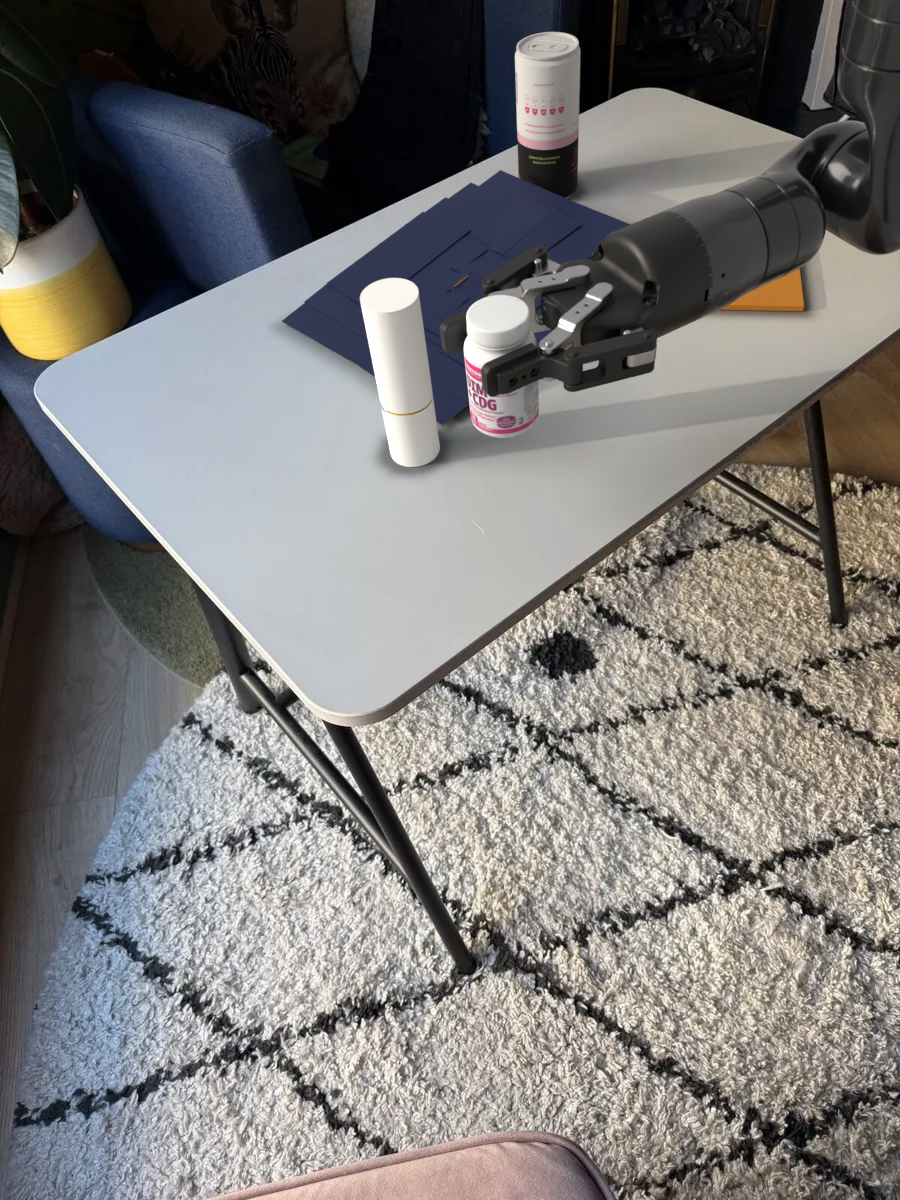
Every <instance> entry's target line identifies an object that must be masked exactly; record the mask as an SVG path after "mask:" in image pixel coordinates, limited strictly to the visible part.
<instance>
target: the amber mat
mask: <svg viewBox="0 0 900 1200" xmlns="http://www.w3.org/2000/svg"><path fill="white" fill-rule="evenodd" d="M801 275H802V274H801V268H799V269H797V270H796V271H794V272H792V273H790V274H788V275H786V276H784V277H782V278H779V279H777V280H775V281H773V282H770V283H768V284H766V285H764V286H762V287H759V288H757V289H755V290H753V291H751V292H749V293H747V294H745V295H744V296H742V297H740V298H739V299H737V300H736V301H735V302H733V303H731V304H730V305H728V306H726V307H724V308H722V309H720V310H719V311H761V312H762V311H763V312H764V311H765V312H766V311H768V312H803V311H804V310H805V302H804V291H803V284H802V276H801Z"/></svg>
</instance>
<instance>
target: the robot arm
mask: <svg viewBox="0 0 900 1200" xmlns="http://www.w3.org/2000/svg"><path fill="white" fill-rule="evenodd" d="M844 34H845V35H844V38H843V44H842V48H841V52H840V57H839V62H838V67H837V74H836V77H837V78H836V82H837V83H836V85H837V89H838V92H839V94H840V96H841V98H842V99H843V100H844V102H845V103H846V104H847V105H848V106H849V107H850V108H851V109H852V110H853V111H854V112H855V113H856V114H857V116H859V118H860V119H861V120H862V121H859V120H852V119H850V120H840V121H833V122H830V123H826V124H824V125H821V126H819V127H818V128H815V129H814V130H813V131H811V132H810V133H808V134H807V135H806V136H805V137H804V138H803V139H801V140H800V141H799V142H798V143H797V144H796V145H794V146H793V147H792V148H791V149H790V150H788V152H786V153H784V155H782V156H781V157H779V159H777V160H776V161H775V162H774V163H773V164H772V165H771V166H770V167H769V168H767V169H766V170H765V171H764V172H763V173H761V174H760V175H757V176H755V177H752V178H749V179H747V180H745V181H742V182H740V183H737V184H735V185H733V186H730V187H727V188H725V189H723V190H722V191H719V192H716V193H713V194H709V195H704V196H699V197H696V198H692V199H690V200H687V201H684V202H682V203H679V204H677V205H675V206H673V207H670V208H667V209H666V210H662V211H660V212H658V213H656V214H653V215H651V216H648V217H646V218H644V219H641V220H638V221H636V222H634V223H632V224H631V223H630V224H631V225H629V226H626V227H624V228H622V229H619V230H617V231H614V232H612V233H610V234H609V235H607V236H606V237H605V238H604V239H603V240H602V242H601V243H600V245H599V246H598V248H597V249H596V250H595V252H594V253H593V254H592V255H591V256H590V257H589V258H586V259H582V260H576V261H568V262H565V263H563V264H562V265H560V264H558V263H556V262H554V261H551V260H549V259H548V251H547V247H545V246H543V245H537V246H534V247H532V248H530V249H529V250H527V251H526V252H524V253H523V254H521V255H519V256H518V257H516V258H515V259H513V260H512V261H510V262H509V263H507V264H506V265H504V266H502V267H501V268H499V269H498V270H496V271H495V272H493V273H492V274H490V275H489V276H487V277H485V278H484V279H483V280H482V291H483V298H485V297H488V296H493V295H508V296H513V297H516V298H519V299H521V300H522V301H524V302H525V303H526V304H527V306H528V308H529V311H530V325H531V327H530V330H531V331H532V332H533V333H536V332H541V331H546V330H553V331H552V332H550V333H549V334H548V335H547V336H546V337H544V338H543V339H542V340H541V341H540V342H539V345H538V346H537V347H536V346H535V345H534V344H533V343H530V344H527V345H525V346H523V347H521V348H518V349H516V350H514V351H511V352H509V353H507V354H505V355H502V356H500V357H498V358H496V359H493V360H491V361H489V362H487V363H485V364H484V365H483V367H482V369H481V376H482V387H483V390H484V391H485V392H486V393H487V394H488V395H489V396H490V397H495V396H497V395H502V394H508V393H511V392H513V391H515V390H517V389H520V388H522V387H524V386H526V385H529V384H531V383H533V382H535V381H538V382H539V381H540V380H543V381H545V382H553V381H555V380H558V381H559V382H561V383H563V389H564V390H565V391H567V392H569V393H575V392H579V391H580V392H581V391H584V390H589V389H592V388H597V387H599V386H603V385H607V384H611V383H615V382H620V381H624V380H628V379H631V378H635V377H639V376H642V375H647V374H650V373H653V371H654V370H655V366H656V365H655V363H656V358H657V348H658V339H659V338H661V337H663V336H666V335H668V334H669V333H672V332H675V331H677V330H679V329H681V328H684V327H685V326H688V325H689V324H692V323H695V322H696V321H698V320H700V319H703V318H705V317H707V316H709V315H711V314H714V313H716V312H718V311H721V310H720V309H722V308H724V307H726V306H728V305H730V304H731V303H733V302H735V301H736V300H737V299H739V298H740V297H742V296H744V295H745V294H747V293H749V292H751V291H753V290H755V289H757V288H759V287H762V286H764V285H766V284H768V283H770V282H773V281H775V280H777V279H779V278H782V277H784V276H786V275H788V274H790V273H792V272H794V271H796V270H797V269H799V268H800V269H801V268H802V267H804V266H805V265H807V264H808V263H809V262H810V261H811V260H812V259H814V258H815V256H816V255H817V254H818V252H819V251H820V249H821V247H822V245H823V242H824V240H825V236H826V231H827V232H829V234H831V235H833V236H835V237H837V238H838V239H840V240H842V241H843V242H845V243H846V244H847V245H850V246H852V247H853V248H856V249H857V250H859V251H860V252H863V253H866V254H869V255H874V256H885V255H889V254H892V253H893V254H894V253H896V252H898V251H900V0H852V3H851V7H850V12H849V16H848V21H847V26H846V29H845V33H844ZM503 286H505V290H501V288H502V287H503ZM540 294H542V295H541V313H542V314H540V315H536V298H537V296H538V295H540ZM467 311H468V310H466V311H463V312H461V313H458V314H457V315H454V316H451V317H449V318H448V319H446V320H445V321H444V322H443V323H442V324H441V325H440V336H441V344H442V348H443V349H444V350H445V351H446V352H447V353H448V354H450V355H452V354H455V353H457V352H460V351H462V350H464V342H465V339H466V338H467V336H468V334H467V322H466V314H467ZM594 362H598V365H596V367H593V368H589V369H585V370H584V365H587V364H590V363H594Z"/></svg>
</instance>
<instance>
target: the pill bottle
mask: <svg viewBox="0 0 900 1200" xmlns="http://www.w3.org/2000/svg"><path fill="white" fill-rule="evenodd" d="M466 322H467V334H468V336H467V338H466V339H465V342H464V359H465V367H466V376H467V385H468V395H469V413H470V419H471V423H472V424H473V426H474V427H475V429H477V431H479V432H480V433H482V434H484V435H486V436H489V437H491V438H498V439H507V438H508V439H509V438H512V437H517V436H520V435H522V434H524V433H526V432H527V431H529V430H530V429H531V428H532V427H533V426H534V425H535V423H536V422H537V420H538V419H539V415H540V414H539V413H540V398H539V397H540V396H539V380H538V381H535V382H533V383H531V384H529V385H526V386H524V387H522V388H520V389H517V390H515V391H513V392H511V393H508V394H502V395H497V396H495V397H490V396H489V395H488V394H487V393H486V392H485V391H484V390H483V387H482V376H481V369H482V367H483V365H484V364H485V363H487V362H489V361H491V360H493V359H496V358H498V357H500V356H502V355H505V354H507V353H509V352H511V351H514V350H516V349H518V348H521V347H523V346H525V345H527V344H530V343H533V344H534V345H535V346H536V347H537V348H538V346H537V342H536V338H535V335H534V334H533V332H532V331H531V330H530V327H531V325H530V311H529V308H528V306H527V304H526V303H525V302H524V301H522V300H521V299H519V298H516V297H513V296H508V295H493V296H488V297H485V298H482V299H480V300H478V301H477V302H475V303H474V304H473V305H471V307H470V308H469V309H468V311H467V314H466Z"/></svg>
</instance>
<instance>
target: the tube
mask: <svg viewBox="0 0 900 1200" xmlns="http://www.w3.org/2000/svg"><path fill="white" fill-rule="evenodd" d="M360 303H361V308H362V313H363V318H364V323H365V328H366V333H367V338H368V343H369V348H370V353H371V358H372V363H373V368H374V373H375V377H374V378H375V382H376V387H377V392H378V393H377V394H378V397H379V402H380V408H381V415H382V418H383V423H384V429H385V434H386V438H387V442H388V448H389V453H390V456H391V459H392V460H393V461H394V463H396V464H397V465H400V466H403V467H407V468H417V467H422V466H426V465H428V464H429V463H431V462H433V461H435V459H436V458H437V457H438V455H439V454H440V450H441V446H440V437H439V430H438V422H437V421H436V414H435V407H434V400H433V392H432V385H431V378H430V370H429V363H428V356H427V349H426V341H425V334H424V327H423V320H422V312H421V305H420V298H419V291H418V288H417V286H416V285H415V284H414V283H413V282H411V281H409V280H406V279H402V278H387V279H382V280H378V281H376V282H373V283H372V284H370V285H368V286H367V287H366V288H365V289H364V290H363V291H362V293H361V295H360Z"/></svg>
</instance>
